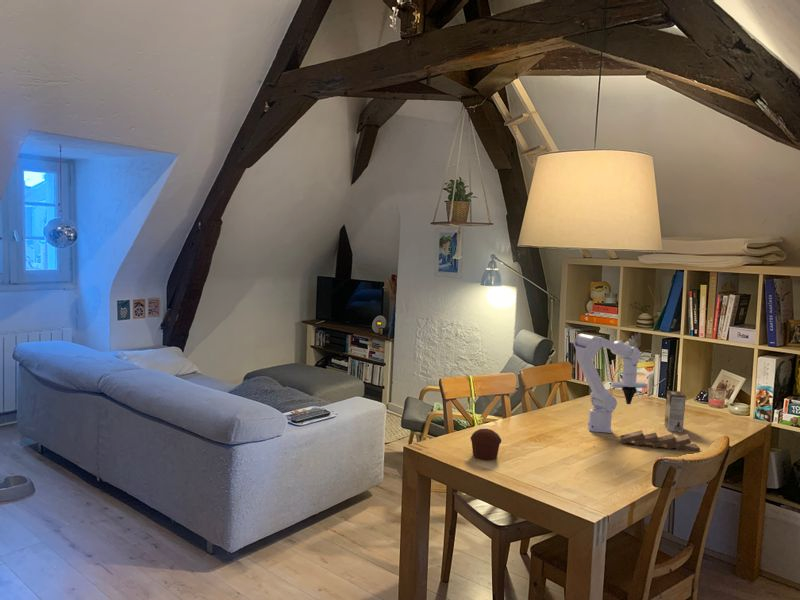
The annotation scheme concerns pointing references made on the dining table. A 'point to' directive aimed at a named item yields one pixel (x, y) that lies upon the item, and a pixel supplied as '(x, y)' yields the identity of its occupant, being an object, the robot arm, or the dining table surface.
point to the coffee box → (674, 411)
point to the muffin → (485, 444)
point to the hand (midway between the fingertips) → (628, 403)
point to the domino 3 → (664, 440)
